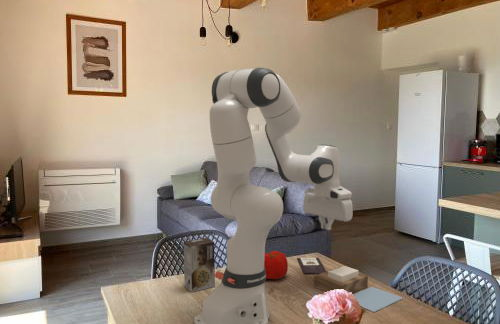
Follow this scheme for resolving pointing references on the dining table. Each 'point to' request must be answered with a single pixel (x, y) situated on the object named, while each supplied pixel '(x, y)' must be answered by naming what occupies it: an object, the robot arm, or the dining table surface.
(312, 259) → the chocolate bar
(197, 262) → the coffee box
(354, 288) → the brown wooden box
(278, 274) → the tomato
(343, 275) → the cream slab
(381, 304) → the mat
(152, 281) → the dining table surface
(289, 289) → the dining table surface
